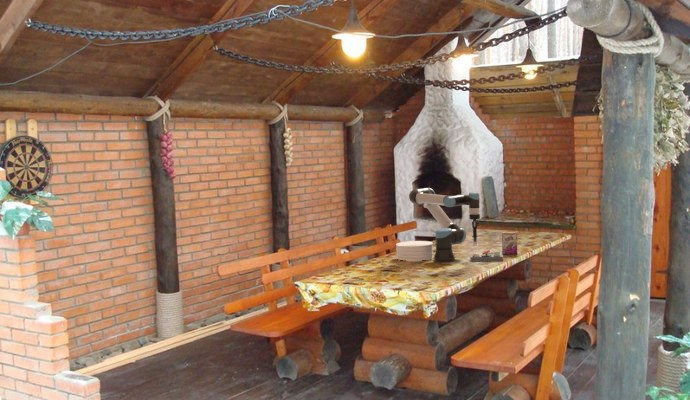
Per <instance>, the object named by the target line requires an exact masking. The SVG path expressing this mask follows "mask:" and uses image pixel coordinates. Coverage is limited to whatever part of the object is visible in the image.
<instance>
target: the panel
mask: <svg viewBox="0 0 690 400" xmlns="http://www.w3.org/2000/svg"><path fill="white" fill-rule="evenodd" d="M503 255H504V254H500V256H495V255H494V254H489V253H487V254H484V255H483V254H479V257H473V255H470V257H469V258H470V262H503V261H504V256H503Z"/></svg>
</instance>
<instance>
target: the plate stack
mask: <svg viewBox="0 0 690 400" xmlns="http://www.w3.org/2000/svg"><path fill="white" fill-rule="evenodd" d="M395 247H396V248H395V250H396V260H397V259H400V260H406V261H405V262H411V261H412V262H423V261H422V260H426V261H430V259H431V260H434V256H435V255H434V242H433V241H428V240H407V241H401V242H397V243H396V244H395ZM400 260H399V261H400Z"/></svg>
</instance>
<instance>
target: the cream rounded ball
mask: <svg viewBox="0 0 690 400" xmlns="http://www.w3.org/2000/svg"><path fill="white" fill-rule="evenodd" d="M479 255H480V254H479V253H478V252H473V257H479Z"/></svg>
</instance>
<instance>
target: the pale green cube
mask: <svg viewBox="0 0 690 400" xmlns="http://www.w3.org/2000/svg"><path fill="white" fill-rule="evenodd" d="M493 251H494V252H493V253H494V254H493V255H495V256H500V255H501V254H500V250H493Z"/></svg>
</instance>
